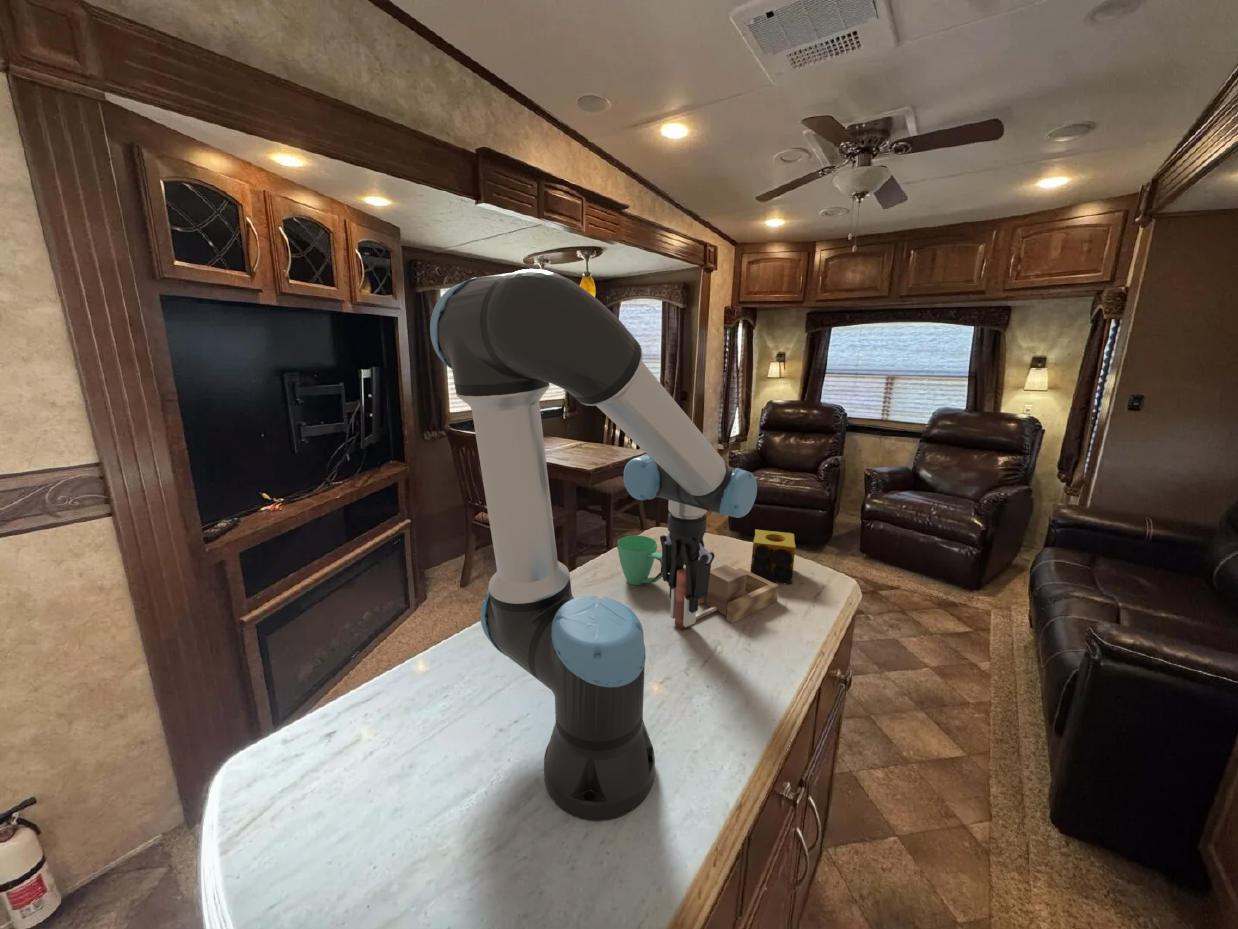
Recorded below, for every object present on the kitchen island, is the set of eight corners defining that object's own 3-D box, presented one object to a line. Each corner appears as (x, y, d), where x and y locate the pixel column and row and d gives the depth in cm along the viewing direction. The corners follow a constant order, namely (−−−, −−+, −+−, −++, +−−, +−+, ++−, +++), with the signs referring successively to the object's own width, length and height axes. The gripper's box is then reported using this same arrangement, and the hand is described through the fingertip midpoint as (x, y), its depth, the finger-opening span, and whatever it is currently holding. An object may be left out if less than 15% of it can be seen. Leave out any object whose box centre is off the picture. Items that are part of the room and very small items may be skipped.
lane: (731, 623, 102) (733, 606, 101) (694, 601, 111) (695, 585, 110) (777, 601, 111) (778, 585, 110) (739, 582, 120) (740, 567, 119)
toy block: (749, 579, 121) (752, 542, 119) (750, 563, 131) (753, 528, 128) (792, 585, 118) (796, 547, 116) (790, 568, 128) (794, 532, 125)
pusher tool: (687, 633, 98) (689, 579, 95) (667, 620, 102) (669, 568, 100) (744, 607, 108) (748, 557, 105) (723, 596, 113) (726, 548, 110)
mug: (608, 580, 121) (608, 542, 118) (635, 567, 127) (636, 532, 125) (652, 601, 110) (653, 561, 108) (679, 587, 117) (681, 549, 115)
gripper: (732, 521, 91) (724, 632, 96) (673, 499, 104) (669, 598, 109) (704, 529, 87) (698, 645, 92) (646, 505, 99) (643, 608, 105)
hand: (682, 619), depth 101 cm, fingers closed on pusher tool, 3 cm apart
